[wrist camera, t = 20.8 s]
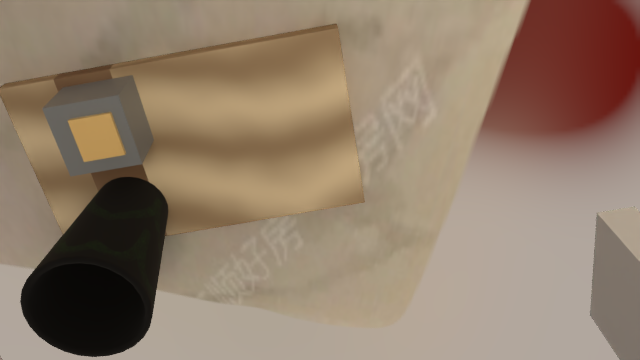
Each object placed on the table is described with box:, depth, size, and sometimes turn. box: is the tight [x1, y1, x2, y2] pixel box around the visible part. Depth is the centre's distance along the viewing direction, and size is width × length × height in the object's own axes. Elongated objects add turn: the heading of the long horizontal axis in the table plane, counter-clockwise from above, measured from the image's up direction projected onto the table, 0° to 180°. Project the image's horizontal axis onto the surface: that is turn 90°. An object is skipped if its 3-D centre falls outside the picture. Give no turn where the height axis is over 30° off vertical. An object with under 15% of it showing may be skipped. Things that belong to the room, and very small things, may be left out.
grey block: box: [42, 75, 154, 177], centre depth 41 cm, size 5×5×4 cm
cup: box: [21, 177, 168, 357], centre depth 41 cm, size 8×8×12 cm
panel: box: [0, 24, 365, 236], centre depth 45 cm, size 14×24×1 cm, turn 100°
